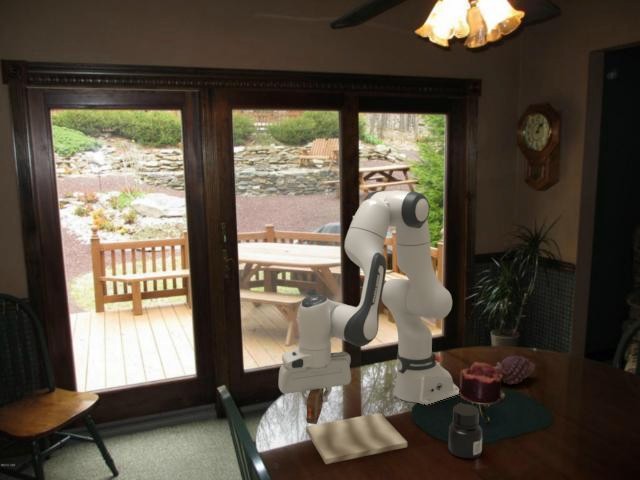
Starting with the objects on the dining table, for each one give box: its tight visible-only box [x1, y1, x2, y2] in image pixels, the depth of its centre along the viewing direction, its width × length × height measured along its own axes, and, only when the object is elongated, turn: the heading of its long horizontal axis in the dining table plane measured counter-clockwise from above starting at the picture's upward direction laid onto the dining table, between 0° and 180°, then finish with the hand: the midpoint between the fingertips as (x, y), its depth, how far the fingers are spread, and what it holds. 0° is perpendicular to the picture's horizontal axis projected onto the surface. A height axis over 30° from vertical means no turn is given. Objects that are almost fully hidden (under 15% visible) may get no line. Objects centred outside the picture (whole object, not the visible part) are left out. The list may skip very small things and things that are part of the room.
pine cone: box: [491, 355, 536, 385], centre depth 185 cm, size 18×10×10 cm, turn 109°
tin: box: [305, 388, 325, 425], centre depth 145 cm, size 15×3×8 cm, turn 171°
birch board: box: [305, 412, 408, 465], centre depth 151 cm, size 24×18×2 cm
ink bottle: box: [447, 403, 483, 459], centre depth 143 cm, size 10×9×12 cm
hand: (315, 402), depth 145 cm, fingers closed on tin, 4 cm apart
